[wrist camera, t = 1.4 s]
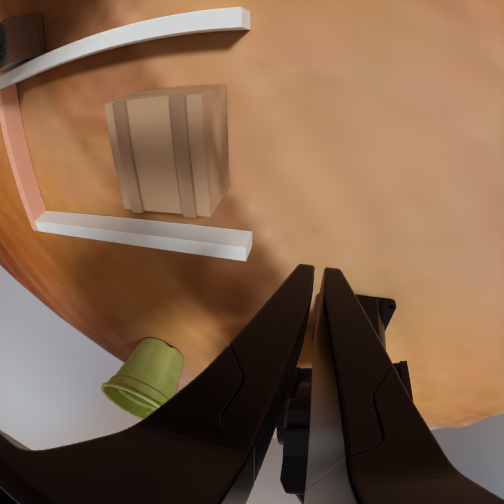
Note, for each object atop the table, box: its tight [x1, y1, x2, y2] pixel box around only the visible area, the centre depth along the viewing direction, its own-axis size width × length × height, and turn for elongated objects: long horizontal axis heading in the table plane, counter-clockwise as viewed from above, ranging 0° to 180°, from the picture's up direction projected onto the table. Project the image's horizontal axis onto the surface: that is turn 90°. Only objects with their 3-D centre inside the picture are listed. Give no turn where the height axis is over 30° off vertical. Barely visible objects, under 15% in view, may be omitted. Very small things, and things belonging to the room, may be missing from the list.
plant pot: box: [101, 338, 184, 419], centre depth 33 cm, size 9×9×9 cm
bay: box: [0, 7, 252, 261], centre depth 19 cm, size 16×23×2 cm
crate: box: [104, 85, 230, 218], centre depth 17 cm, size 7×6×4 cm
